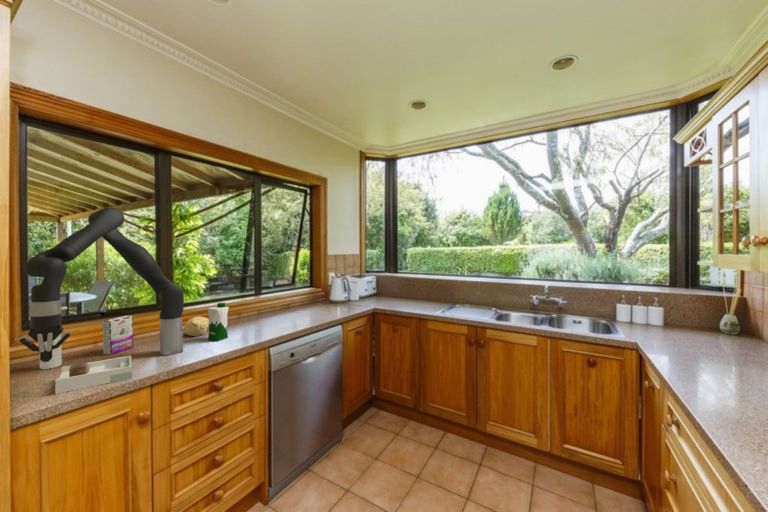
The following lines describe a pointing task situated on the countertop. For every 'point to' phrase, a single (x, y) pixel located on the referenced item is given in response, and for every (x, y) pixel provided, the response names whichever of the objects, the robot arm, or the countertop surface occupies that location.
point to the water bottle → (54, 354)
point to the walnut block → (78, 369)
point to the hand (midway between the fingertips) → (46, 361)
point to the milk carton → (218, 322)
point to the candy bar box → (117, 334)
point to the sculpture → (196, 326)
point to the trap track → (95, 374)
